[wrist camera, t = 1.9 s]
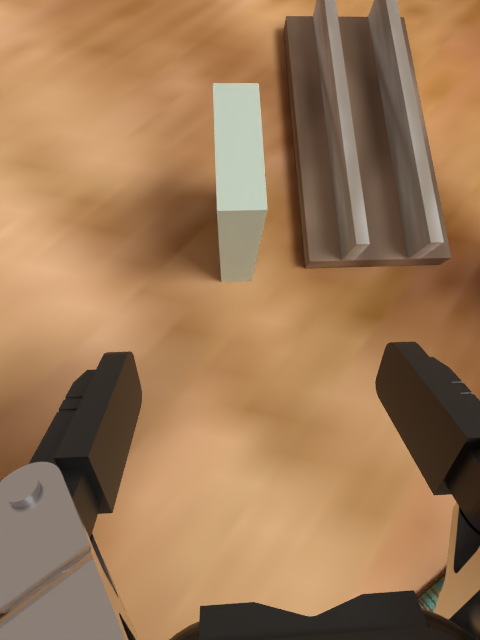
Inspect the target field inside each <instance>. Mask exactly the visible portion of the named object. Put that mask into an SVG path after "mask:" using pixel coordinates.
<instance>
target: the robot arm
mask: <svg viewBox="0 0 480 640" xmlns="http://www.w3.org/2000/svg"><path fill="white" fill-rule="evenodd" d="M376 391H377V395H378V397H379V399H380V401H381V403H382V404H383V406H384V408H385V410H386V412H387V413H388V415H389V417H390V419H391V420H392V422H393V424H394V426H395V427H396V429H397V431H398V433H399V434H400V436H401V438H402V440H403V441H404V443H405V445H406V447H407V449H408V450H409V452H410V454H411V456H412V457H413V459H414V461H415V463H416V464H417V466H418V468H419V470H420V471H421V473H422V475H423V477H424V478H425V480H426V482H427V484H428V486H429V487H430V489H431V491H432V493H433V494H434V495H445V494H452V495H453V497H454V499H455V500H456V504H455V506H454V508H453V513H452V522H451V531H450V540H449V550H448V559H447V568H446V576H445V581H444V584H443V587H442V590H441V592H440V594H439V597H438V600H437V604H436V608H435V613H434V612H431V611H429V610H426V609H423V608H421V607H420V604H419V602H418V599H417V597H416V594H415V592H414V591H400V592H387V593H373V594H362V595H360V596H358V597H356V598H353V599H351V600H349V601H347V602H345V603H343V604H341V605H338V606H336V607H334V608H332V609H330V610H328V611H326V612H323V613H321V614H319V615H317V616H312V617H309V616H304V615H300V614H296V613H293V612H289V611H285V610H281V609H277V608H274V607H270V606H266V605H262V604H259V603H255V602H250V603H237V604H223V605H209V606H200V621H199V622H197V623H194V624H192V625H190V626H188V627H187V628H185V629H183V630H182V631H180V632H179V633H177V634H176V635H174V636H173V637H172V638H171V639H170V640H480V401H479V399H478V398H477V397H476V396H475V395H474V394H471V391H470V390H469V389H468V387H467V386H466V385H465V384H464V383H461V380H460V379H459V378H458V377H457V375H456V374H455V373H454V372H453V371H452V370H451V369H450V368H449V367H447V366H446V365H444V364H443V363H441V362H440V361H438V360H437V359H435V358H434V357H429V356H428V355H427V354H426V353H425V351H424V350H423V349H422V348H421V347H420V346H419V345H418V344H417V343H416V342H393V343H388V344H387V346H386V348H385V351H384V354H383V357H382V360H381V364H380V367H379V370H378V374H377V377H376ZM141 402H142V390H141V385H140V381H139V377H138V372H137V368H136V364H135V360H134V356H133V354H132V352H109V353H105V354H104V355H103V357H102V359H101V361H100V363H99V365H98V367H97V369H96V370H87V371H86V372H85V373H83V374H82V375H81V376H80V377H79V378H78V379H77V380H76V381H75V382H74V383H73V384H72V386H71V388H70V390H69V392H68V393H67V395H66V399H65V400H64V401H63V403H62V404H61V406H60V408H59V412H57V414H56V415H55V417H54V419H53V421H52V423H51V425H50V426H49V428H48V430H47V432H46V434H45V436H44V437H43V439H42V441H41V443H40V445H39V447H38V448H37V450H36V452H35V454H34V456H33V457H32V459H31V461H30V463H29V464H28V465H25V466H23V467H21V468H18V469H17V470H15V471H13V472H12V473H10V474H9V475H8V476H6V477H5V478H4V479H3V480H2V481H1V482H0V640H139V638H138V636H137V633H136V631H135V629H134V626H133V624H132V622H131V620H130V618H129V616H128V614H127V611H126V609H125V607H124V605H123V603H122V600H121V598H120V596H119V593H118V591H117V589H116V586H115V584H114V581H113V579H112V577H111V574H110V572H109V570H108V567H107V565H106V562H105V560H104V558H103V555H102V553H101V550H100V548H99V546H98V543H97V541H96V539H95V536H94V534H93V532H92V531H93V528H94V524H95V521H96V518H97V515H98V514H102V513H112V512H113V509H114V505H115V501H116V497H117V494H118V490H119V486H120V483H121V479H122V475H123V471H124V468H125V464H126V460H127V457H128V453H129V449H130V445H131V442H132V438H133V434H134V431H135V427H136V423H137V419H138V416H139V412H140V408H141Z"/></svg>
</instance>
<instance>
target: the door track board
mask: <svg viewBox="0 0 480 640" xmlns="http://www.w3.org/2000/svg"><path fill="white" fill-rule="evenodd" d="M284 43H285V54H286V65H287V75H288V86H289V97H290V108H291V119H292V130H293V140H294V151H295V162H296V173H297V184H298V194H299V205H300V216H301V227H302V238H303V249H304V259H305V268H334V267H371V266H407V265H440V264H442V263H443V262H445V261H447V260H448V259H450V258H451V253H450V248H449V243H448V238H447V233H446V228H445V223H444V218H443V213H442V208H441V203H440V198H439V193H438V188H437V182H436V177H435V172H434V167H433V162H432V157H431V152H430V147H429V142H428V137H427V132H426V127H425V122H424V117H423V112H422V107H421V101H420V96H419V91H418V86H417V81H416V76H415V71H414V66H413V61H412V56H411V51H410V46H409V41H408V36H407V31H406V25H405V20H404V17H400V14H399V9H398V4H397V0H374V2H373V5H372V8H371V10H370V13H369V16H368V17H338V14H337V7H336V0H317V1H316V6H315V10H314V14H313V17H312V16H286V20H285V27H284Z"/></svg>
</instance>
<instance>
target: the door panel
mask: <svg viewBox="0 0 480 640" xmlns="http://www.w3.org/2000/svg"><path fill="white" fill-rule="evenodd" d="M213 99H214V131H215V164H216V196H217V220H218V236H219V253H220V269H221V282H235V281H252V278H253V273H254V269H255V264H256V259H257V255H258V250H259V246H260V241H261V237H262V232H263V228H264V223H265V218H266V214H267V197H266V183H265V168H264V153H263V139H262V124H261V109H260V95H259V83H213Z"/></svg>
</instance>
